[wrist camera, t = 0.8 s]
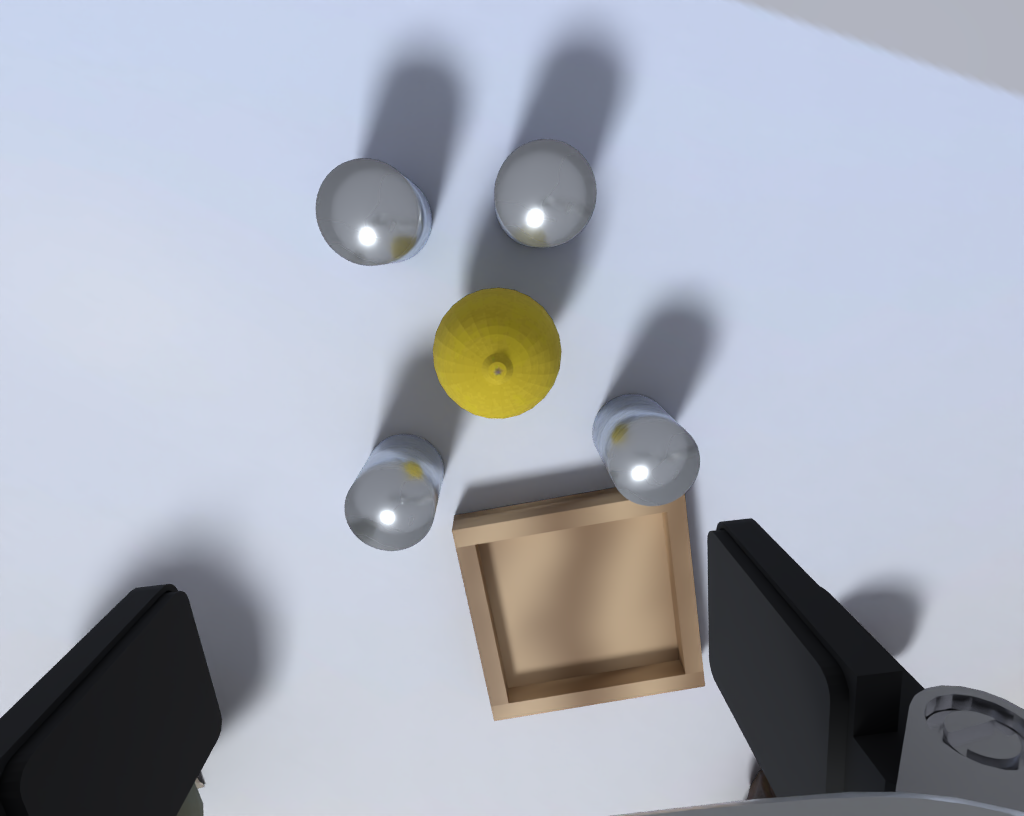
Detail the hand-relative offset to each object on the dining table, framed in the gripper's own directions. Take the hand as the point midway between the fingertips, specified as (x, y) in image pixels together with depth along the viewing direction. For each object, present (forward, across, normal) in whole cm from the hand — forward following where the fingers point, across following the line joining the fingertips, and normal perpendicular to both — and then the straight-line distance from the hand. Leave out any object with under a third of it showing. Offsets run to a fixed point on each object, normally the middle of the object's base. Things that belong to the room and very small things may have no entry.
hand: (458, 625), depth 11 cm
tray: (+20, -4, +13) cm, 24 cm away
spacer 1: (+20, +3, -8) cm, 22 cm away
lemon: (+20, -1, -2) cm, 21 cm away
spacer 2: (+20, +4, +4) cm, 21 cm away
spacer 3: (+20, -4, -8) cm, 22 cm away
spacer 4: (+20, -8, +4) cm, 22 cm away
